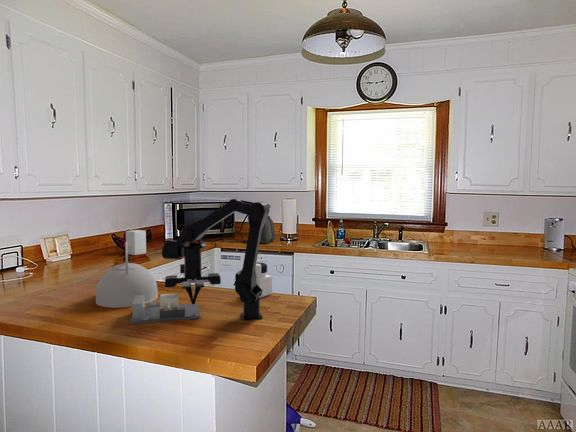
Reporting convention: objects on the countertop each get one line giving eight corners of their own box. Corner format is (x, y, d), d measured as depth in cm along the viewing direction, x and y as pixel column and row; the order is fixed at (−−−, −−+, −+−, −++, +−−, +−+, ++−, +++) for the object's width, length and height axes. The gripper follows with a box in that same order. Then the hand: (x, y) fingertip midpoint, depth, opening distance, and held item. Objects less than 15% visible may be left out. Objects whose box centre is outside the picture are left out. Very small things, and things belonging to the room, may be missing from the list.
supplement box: (146, 253, 251) (146, 230, 250) (134, 255, 243) (134, 231, 242) (137, 252, 256) (137, 229, 254) (125, 254, 248) (125, 230, 247)
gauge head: (178, 316, 129) (178, 301, 128) (146, 318, 126) (146, 303, 126) (178, 307, 138) (178, 293, 138) (148, 309, 135) (148, 295, 135)
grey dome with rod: (98, 292, 161) (96, 238, 159) (155, 287, 169) (154, 236, 168) (93, 310, 138) (91, 248, 136) (160, 303, 146) (159, 244, 145)
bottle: (266, 244, 291) (267, 205, 289) (247, 243, 297) (247, 204, 295) (276, 241, 308) (276, 203, 306) (257, 240, 314) (257, 203, 311)
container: (258, 290, 165) (258, 260, 164) (272, 294, 160) (272, 263, 159) (245, 294, 159) (245, 263, 158) (259, 298, 154) (259, 266, 153)
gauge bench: (200, 318, 130) (200, 300, 130) (130, 324, 124) (129, 306, 124) (198, 305, 144) (198, 290, 143) (135, 310, 138) (134, 294, 137)
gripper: (217, 255, 145) (217, 295, 147) (165, 257, 140) (166, 299, 142) (220, 260, 135) (220, 304, 136) (164, 263, 130) (165, 308, 131)
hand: (193, 303), depth 136 cm, fingers closed
